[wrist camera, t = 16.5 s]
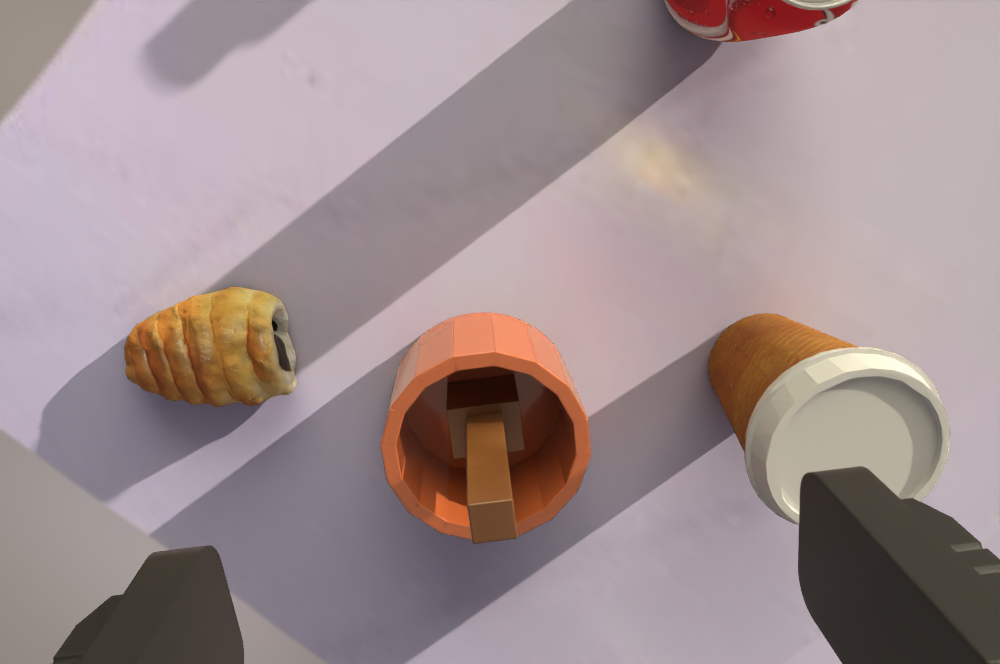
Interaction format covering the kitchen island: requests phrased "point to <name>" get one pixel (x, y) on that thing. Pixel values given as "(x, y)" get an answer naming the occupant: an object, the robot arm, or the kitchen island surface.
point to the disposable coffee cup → (825, 410)
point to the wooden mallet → (486, 450)
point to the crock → (425, 433)
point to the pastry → (215, 349)
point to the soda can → (753, 17)
